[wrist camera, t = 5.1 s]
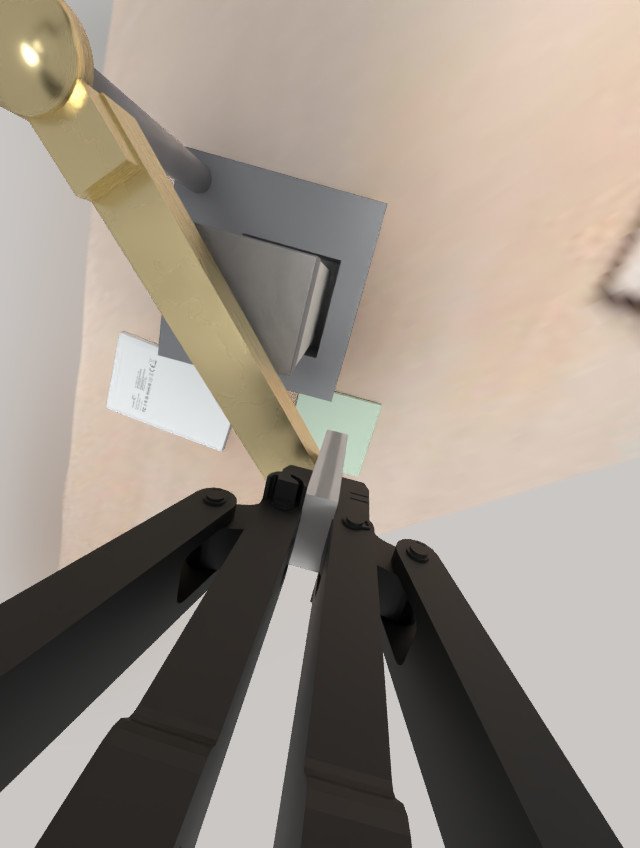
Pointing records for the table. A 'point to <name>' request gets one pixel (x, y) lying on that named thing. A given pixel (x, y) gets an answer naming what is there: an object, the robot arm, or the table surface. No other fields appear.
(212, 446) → the external hard drive
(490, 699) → the robot arm
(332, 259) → the socket block
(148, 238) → the clip
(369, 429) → the pad
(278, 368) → the plug
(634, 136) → the table surface
